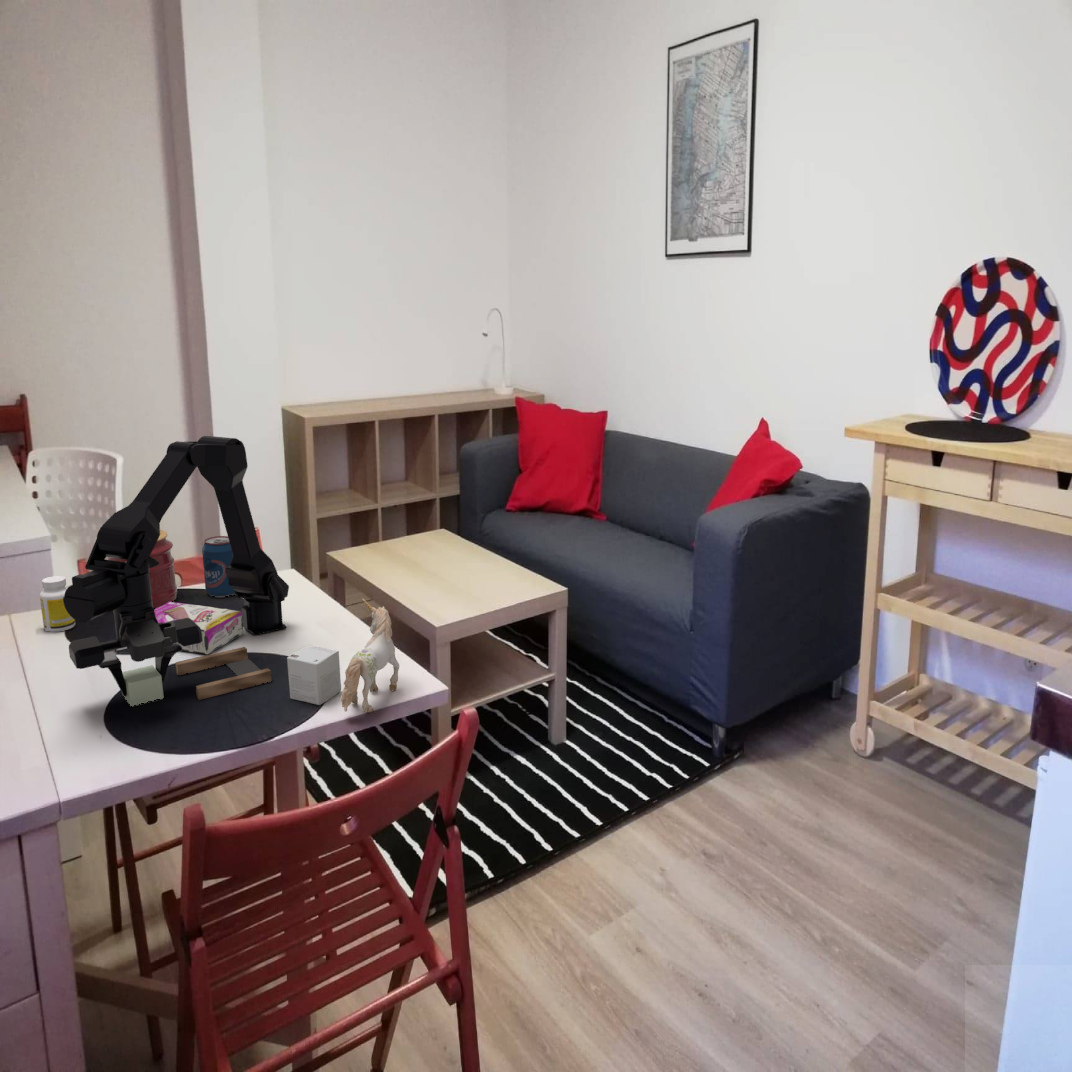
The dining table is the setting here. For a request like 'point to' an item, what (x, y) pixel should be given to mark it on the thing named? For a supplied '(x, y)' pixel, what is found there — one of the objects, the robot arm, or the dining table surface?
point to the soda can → (217, 565)
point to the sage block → (143, 685)
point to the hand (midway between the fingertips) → (142, 691)
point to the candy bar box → (204, 623)
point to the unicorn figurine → (371, 661)
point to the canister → (161, 572)
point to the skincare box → (314, 674)
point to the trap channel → (241, 667)
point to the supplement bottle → (55, 605)
